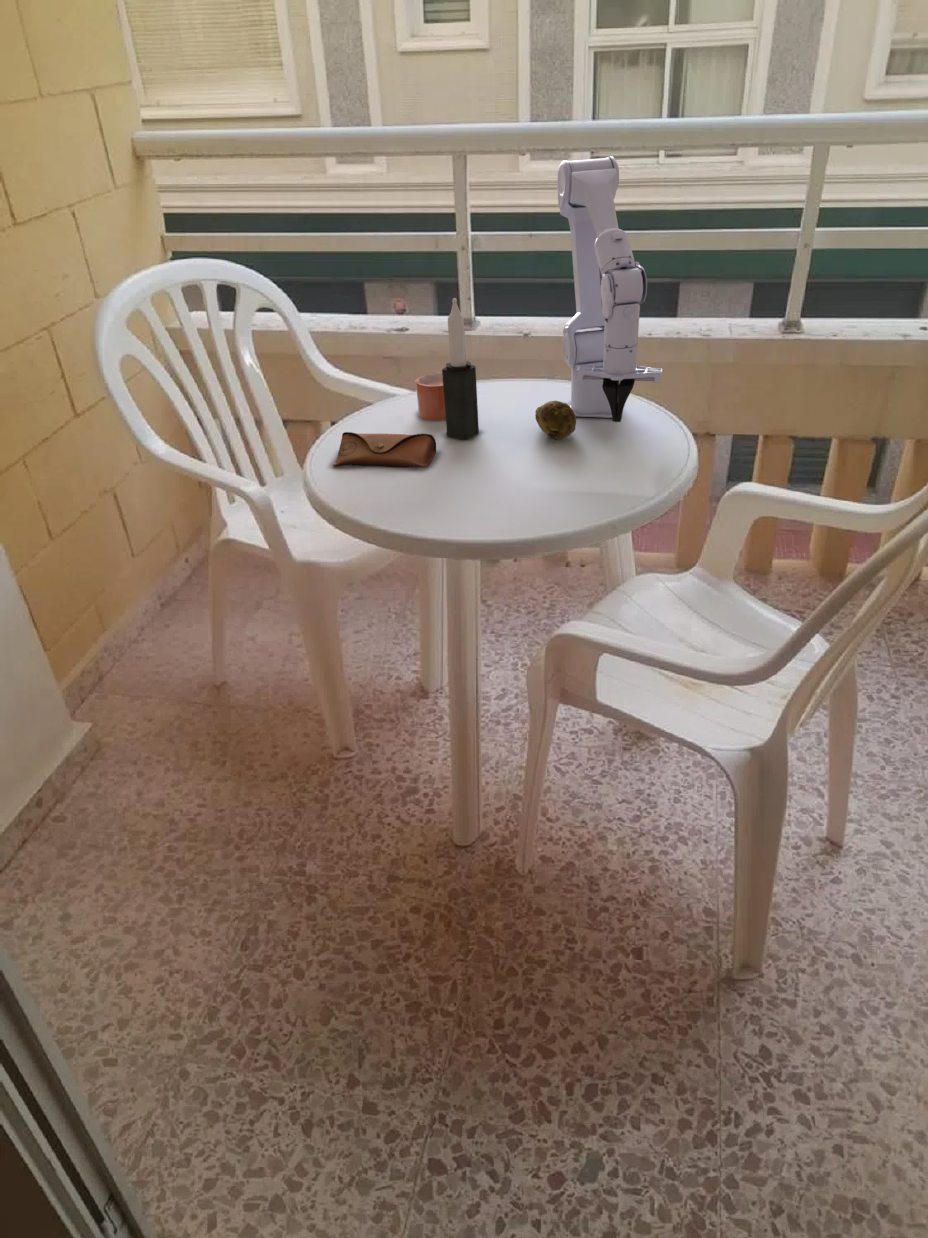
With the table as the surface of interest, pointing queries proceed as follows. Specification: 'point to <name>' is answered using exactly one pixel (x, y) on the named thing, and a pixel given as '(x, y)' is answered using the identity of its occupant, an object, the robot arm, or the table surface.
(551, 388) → the table surface
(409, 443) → the sunglasses case
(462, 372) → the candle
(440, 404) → the flower pot
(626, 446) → the table surface
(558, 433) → the potato
